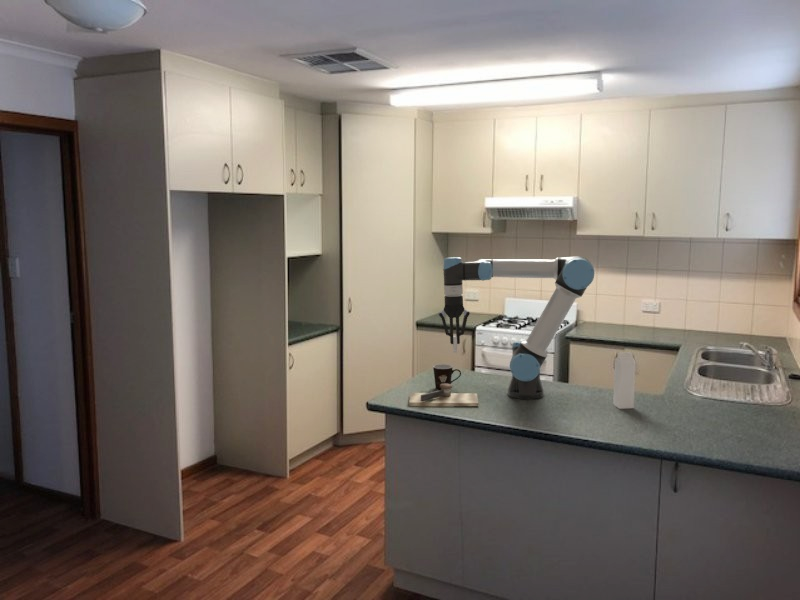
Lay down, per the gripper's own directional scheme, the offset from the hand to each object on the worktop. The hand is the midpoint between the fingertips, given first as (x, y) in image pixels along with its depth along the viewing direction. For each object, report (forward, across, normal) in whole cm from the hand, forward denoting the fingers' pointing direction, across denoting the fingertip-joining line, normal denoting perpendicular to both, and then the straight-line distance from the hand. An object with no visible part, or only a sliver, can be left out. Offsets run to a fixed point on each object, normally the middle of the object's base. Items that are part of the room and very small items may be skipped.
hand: (455, 351), depth 269 cm
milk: (+23, +66, -10) cm, 71 cm away
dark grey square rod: (+18, -9, -3) cm, 21 cm away
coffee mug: (+21, -4, +17) cm, 27 cm away
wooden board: (+20, -6, -2) cm, 21 cm away
